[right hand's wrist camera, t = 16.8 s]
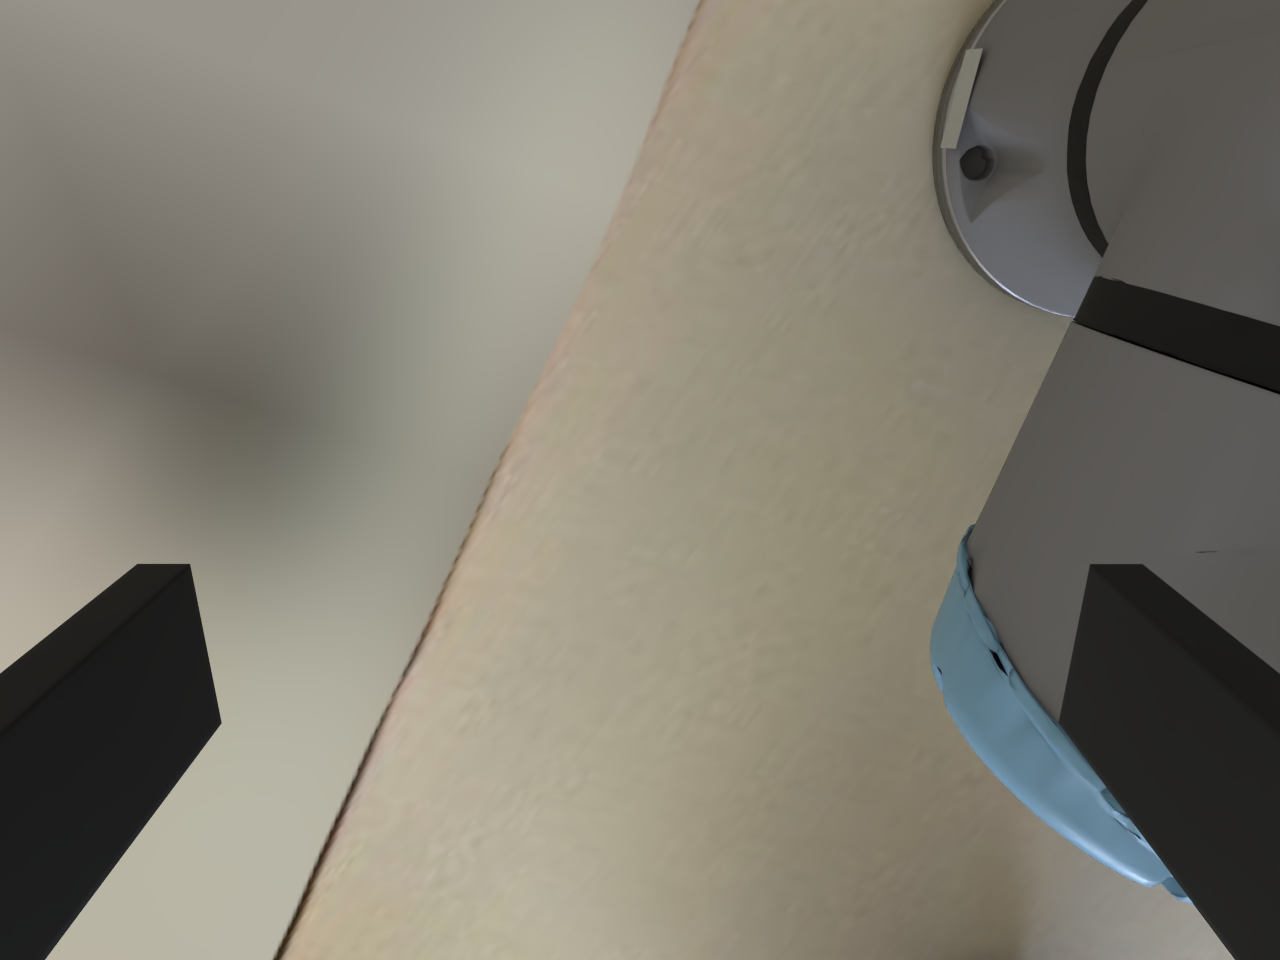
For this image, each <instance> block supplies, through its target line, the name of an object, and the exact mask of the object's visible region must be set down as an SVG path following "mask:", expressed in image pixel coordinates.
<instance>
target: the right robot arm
mask: <svg viewBox="0 0 1280 960" xmlns="http://www.w3.org/2000/svg"><path fill="white" fill-rule="evenodd" d="M933 174H934V183H935V189H936V194H937V199H938V203H939V206H940V210H941V213H942V216H943V219H944V221H945V224H946V226H947V228H948V231H949V233H950V235H951V237H952V238H953V240H954V242H955V244H956V246H957V247H958V249H959V250H960V252H961V253H962V254H963V256H964V257H965V259H966V260H967V261H968V262H969V264H970V265H971V266H972V267H973V268H974V269H975V270H976V271H977V272H978V273H979V274H980V275H981V276H982V277H983V278H984V279H985V280H987V281H988V282H989V283H990V284H991V285H993V286H994V287H996V288H997V289H999V290H1000V291H1001V292H1003V293H1005V294H1007V295H1009V296H1010V297H1012V298H1014V299H1016V300H1018V301H1021V302H1023V303H1026V304H1028V305H1031V306H1033V307H1036V308H1039V309H1041V310H1044V311H1048V312H1051V313H1054V314H1058V315H1062V316H1068V317H1073V318H1074V319H1073V320H1074V321H1071V323H1070V326H1069V328H1068V330H1067V332H1066V334H1065V336H1064V338H1063V340H1062V343H1061V345H1060V347H1059V349H1058V351H1057V353H1056V355H1055V357H1054V360H1053V362H1052V364H1051V366H1050V368H1049V370H1048V372H1047V374H1046V376H1045V379H1044V381H1043V383H1042V385H1041V387H1040V389H1039V391H1038V393H1037V396H1036V398H1035V400H1034V402H1033V404H1032V406H1031V408H1030V410H1029V413H1028V415H1027V417H1026V419H1025V421H1024V423H1023V425H1022V427H1021V430H1020V432H1019V434H1018V436H1017V438H1016V440H1015V442H1014V444H1013V446H1012V449H1011V451H1010V453H1009V455H1008V457H1007V459H1006V461H1005V463H1004V466H1003V468H1002V470H1001V472H1000V474H999V476H998V478H997V480H996V483H995V485H994V487H993V489H992V491H991V493H990V495H989V497H988V500H987V502H986V504H985V506H984V508H983V510H982V512H981V514H980V516H979V518H978V520H977V522H976V524H974V525H971V526H970V527H969V528H968V529H967V531H966V532H965V534H964V536H963V538H962V540H961V543H960V546H959V548H958V554H957V566H956V569H955V571H954V574H953V576H952V579H951V582H950V584H949V587H948V589H947V592H946V594H945V597H944V599H943V602H942V604H941V607H940V610H939V612H938V614H937V617H936V619H935V621H934V625H933V629H932V632H931V641H930V657H931V665H932V669H933V672H934V675H935V678H936V681H937V684H938V686H939V688H940V690H941V691H942V693H943V694H944V702H945V705H946V708H947V710H948V712H949V714H950V716H951V717H952V719H953V720H954V722H955V724H956V725H957V727H958V729H959V730H960V732H961V733H962V735H963V736H964V738H965V739H966V740H967V742H968V743H969V745H970V746H971V747H972V749H973V750H974V751H975V752H976V754H977V755H978V756H979V757H980V759H981V760H982V761H983V762H984V763H985V765H986V766H987V767H988V768H989V769H990V770H991V771H992V773H993V774H994V775H995V776H996V777H997V778H998V779H999V780H1000V781H1001V782H1002V783H1003V784H1004V785H1005V786H1006V787H1007V788H1008V789H1009V790H1010V791H1011V792H1012V793H1013V794H1014V795H1015V796H1016V797H1017V798H1018V799H1019V800H1020V801H1021V802H1022V803H1024V804H1025V805H1026V806H1027V807H1028V808H1029V809H1030V810H1031V811H1032V812H1034V813H1035V814H1036V815H1037V816H1038V817H1039V818H1041V819H1042V820H1043V821H1044V822H1045V823H1046V824H1047V825H1049V826H1050V827H1051V828H1053V829H1054V830H1055V831H1056V832H1058V833H1059V834H1060V835H1062V836H1063V837H1064V838H1066V839H1067V840H1068V841H1070V842H1071V843H1072V844H1074V845H1075V846H1077V847H1078V848H1079V849H1081V850H1082V851H1084V852H1085V853H1087V854H1088V855H1090V856H1091V857H1093V858H1094V859H1096V860H1097V861H1099V862H1100V863H1102V864H1104V865H1106V866H1107V867H1109V868H1111V869H1112V870H1114V871H1116V872H1117V873H1119V874H1121V875H1123V876H1125V877H1127V878H1129V879H1131V880H1133V881H1135V882H1137V883H1139V884H1141V885H1143V886H1146V887H1152V886H1155V885H1157V884H1160V883H1161V884H1162V885H1163V886H1164V887H1165V888H1166V889H1167V890H1168V891H1169V892H1170V893H1171V894H1172V895H1173V896H1174V897H1175V898H1176V899H1178V900H1180V901H1184V902H1187V903H1191V904H1194V905H1195V907H1196V908H1197V909H1198V911H1199V912H1200V913H1201V915H1202V916H1203V917H1204V919H1205V920H1206V921H1207V923H1208V924H1209V925H1210V927H1211V928H1212V929H1213V931H1214V932H1215V934H1216V935H1217V936H1218V938H1219V939H1220V940H1221V942H1222V943H1223V944H1224V946H1225V947H1226V948H1227V950H1228V951H1229V952H1230V954H1231V955H1232V956H1233V958H1234V959H1235V960H1280V0H995V1H994V3H993V4H992V5H991V6H990V7H989V9H988V10H987V11H986V12H985V14H984V15H983V16H982V17H981V18H980V20H979V21H978V23H977V24H976V26H975V27H974V29H973V30H972V32H971V33H970V34H969V36H968V38H967V39H966V41H965V43H964V45H963V46H962V48H961V50H960V52H959V54H958V55H957V58H956V60H955V62H954V64H953V66H952V69H951V71H950V73H949V76H948V78H947V81H946V84H945V87H944V89H943V92H942V96H941V100H940V104H939V107H938V111H937V117H936V123H935V128H934V139H933ZM1075 321H1076V322H1075ZM220 725H221V718H220V713H219V708H218V703H217V698H216V693H215V687H214V682H213V677H212V672H211V667H210V662H209V657H208V652H207V647H206V642H205V637H204V632H203V627H202V622H201V617H200V612H199V607H198V602H197V597H196V592H195V587H194V582H193V577H192V572H191V567H190V564H137V565H136V566H134V567H133V568H132V569H131V570H129V571H128V572H127V573H126V574H124V575H123V576H122V577H121V578H119V579H118V580H117V581H116V582H114V583H113V584H112V585H111V586H109V587H108V588H107V589H106V590H104V591H103V592H102V593H101V594H99V595H98V596H97V597H96V598H94V599H93V600H92V601H91V602H89V603H88V604H87V605H86V606H84V607H83V608H82V609H81V610H79V611H78V612H77V613H76V614H74V615H73V616H72V617H71V618H69V619H68V620H67V621H66V622H64V623H63V624H62V625H60V626H59V627H58V628H57V629H55V630H54V631H53V632H52V633H50V634H49V635H48V636H47V637H45V638H44V639H43V640H42V641H40V642H39V643H38V644H37V645H35V646H34V647H33V648H32V649H30V650H29V651H28V652H27V653H25V654H24V655H23V656H22V657H20V658H19V659H18V660H17V661H15V662H14V663H13V664H12V665H10V666H9V667H8V668H7V669H5V670H4V671H3V672H2V673H0V960H45V959H46V958H47V956H48V955H49V954H50V952H51V951H52V950H53V948H54V947H55V945H56V944H57V943H58V942H59V940H60V939H61V937H62V936H63V935H64V933H65V932H66V931H67V929H68V928H69V927H70V925H71V924H72V923H73V921H74V920H75V919H76V917H77V916H78V915H79V913H80V912H81V911H82V909H83V908H84V907H85V905H86V904H87V903H88V901H89V900H90V899H91V897H92V896H93V895H94V893H95V892H96V891H97V889H98V888H99V887H100V885H101V884H102V883H103V881H104V880H105V879H106V877H107V876H108V875H109V873H110V872H111V871H112V869H113V868H114V867H115V865H116V864H117V863H118V861H119V860H120V858H121V857H122V856H123V854H124V853H125V852H126V850H127V849H128V848H129V846H130V845H131V844H132V842H133V841H134V840H135V838H136V837H137V836H138V834H139V833H140V832H141V830H142V829H143V828H144V826H145V825H146V824H147V822H148V821H149V820H150V818H151V817H152V816H153V814H154V813H155V812H156V810H157V809H158V807H159V806H160V805H161V804H162V802H163V801H164V800H165V798H166V797H167V796H168V794H169V793H170V791H171V790H172V789H173V788H174V786H175V785H176V783H177V782H178V781H179V779H180V778H181V777H182V775H183V774H184V773H185V771H186V770H187V769H188V767H189V766H190V765H191V763H192V762H193V761H194V759H195V758H196V757H197V755H198V754H199V753H200V751H201V750H202V749H203V747H204V746H205V745H206V743H207V742H208V741H209V739H210V738H211V737H212V735H213V734H214V733H215V731H216V730H217V728H218V727H219V726H220Z"/></svg>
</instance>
